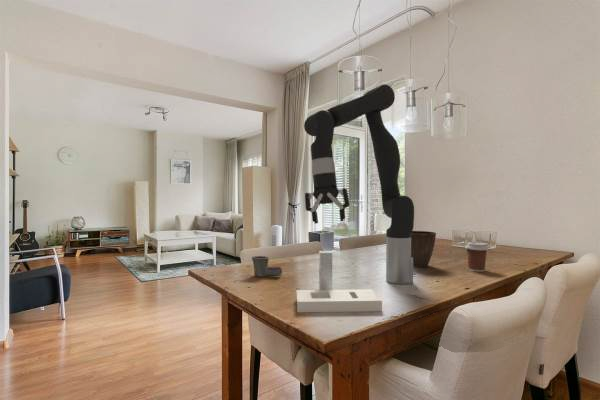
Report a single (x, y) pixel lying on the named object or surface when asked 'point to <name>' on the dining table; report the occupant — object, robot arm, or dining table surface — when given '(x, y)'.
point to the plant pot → (422, 247)
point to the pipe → (264, 267)
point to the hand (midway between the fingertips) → (329, 222)
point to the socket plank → (338, 301)
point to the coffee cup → (476, 256)
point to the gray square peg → (325, 270)
